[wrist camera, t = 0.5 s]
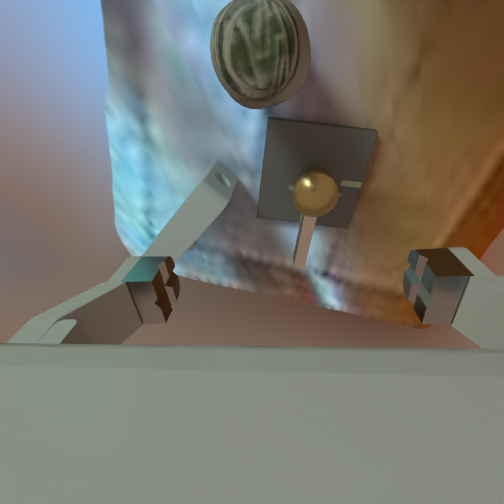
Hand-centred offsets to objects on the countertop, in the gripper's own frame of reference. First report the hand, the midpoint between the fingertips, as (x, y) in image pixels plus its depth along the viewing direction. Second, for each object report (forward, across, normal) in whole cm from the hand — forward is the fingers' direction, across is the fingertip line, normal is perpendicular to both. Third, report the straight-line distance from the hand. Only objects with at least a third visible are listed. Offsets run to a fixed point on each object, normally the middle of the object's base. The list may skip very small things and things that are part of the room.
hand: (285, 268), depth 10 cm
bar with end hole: (+46, +19, +16) cm, 52 cm away
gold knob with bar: (+39, -4, +16) cm, 42 cm away
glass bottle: (+45, +2, -8) cm, 46 cm away
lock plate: (+45, -5, +10) cm, 47 cm away
